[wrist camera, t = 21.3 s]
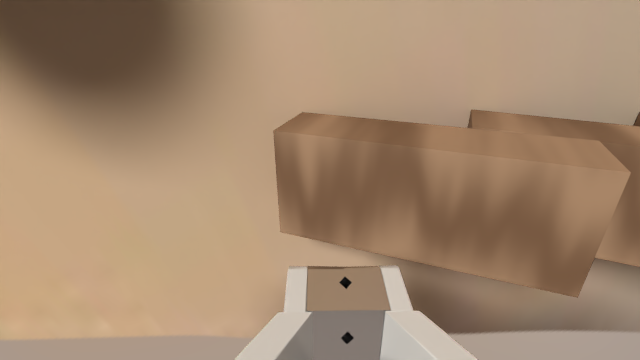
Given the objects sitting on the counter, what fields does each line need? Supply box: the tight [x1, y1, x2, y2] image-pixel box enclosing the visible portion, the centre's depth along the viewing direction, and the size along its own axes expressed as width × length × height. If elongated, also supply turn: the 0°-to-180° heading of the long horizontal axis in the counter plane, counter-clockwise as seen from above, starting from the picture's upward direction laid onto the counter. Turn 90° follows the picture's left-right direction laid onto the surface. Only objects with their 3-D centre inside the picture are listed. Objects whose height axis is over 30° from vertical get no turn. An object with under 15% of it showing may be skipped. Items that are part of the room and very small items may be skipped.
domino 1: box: [274, 112, 631, 298], centre depth 15 cm, size 5×3×12 cm
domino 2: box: [468, 110, 640, 267], centre depth 15 cm, size 5×3×12 cm
